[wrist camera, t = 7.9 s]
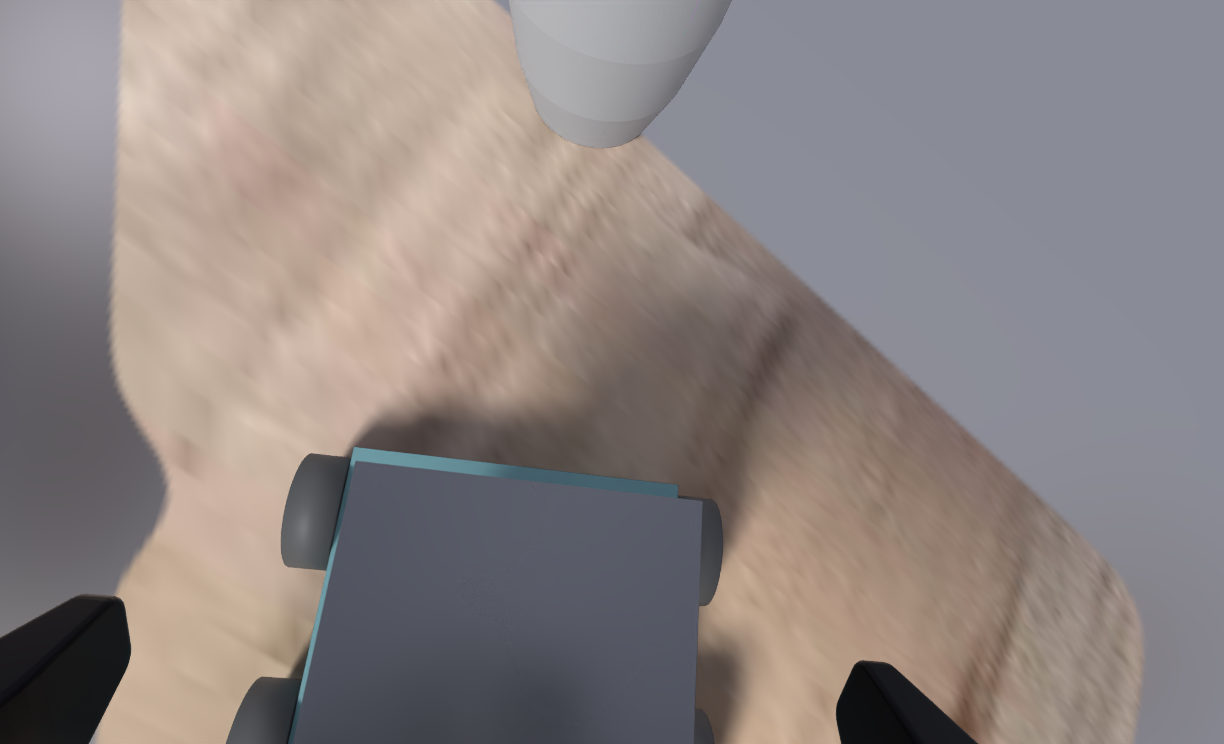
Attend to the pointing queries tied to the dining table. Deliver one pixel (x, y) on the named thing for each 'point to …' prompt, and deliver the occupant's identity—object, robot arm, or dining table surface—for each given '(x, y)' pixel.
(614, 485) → the chassis
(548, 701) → the grey tall block
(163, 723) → the dining table surface
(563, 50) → the cup
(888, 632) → the dining table surface
